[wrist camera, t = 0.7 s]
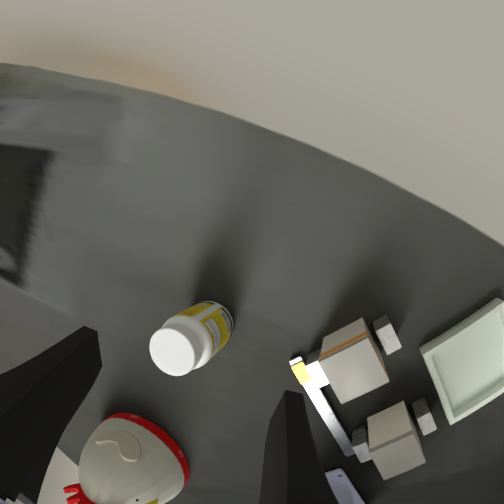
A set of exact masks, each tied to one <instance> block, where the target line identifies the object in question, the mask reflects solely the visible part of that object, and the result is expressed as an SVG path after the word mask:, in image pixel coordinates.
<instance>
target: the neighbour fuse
mask: <svg viewBox="0 0 504 504" xmlns="http://www.w3.org/2000/svg"><path fill="white" fill-rule="evenodd" d="M367 422H368V435H369V454H370V456H371V458H372V460H373V461H374V463H375V465H376V467H377V468H378V470H379V472H380V474H381V476H382V477H383V479H384V480H386V479H389V478H391V477H394V476H396V475H399V474H401V473H404V472H406V471H408V470H411V469H413V468H415V467H417V466H419V465H422V464H424V463H426V460H425V457H424V455H423V451H422V448H421V444H420V441H419V437H418V434H417V431H416V427H415V425H414V423H413V421H412V418H411V416H410V414H409V412H408V410H407V407H406V405H405V403H404V401H402V402H400V403H398V404H396V405H394V406H391V407H389V408H387V409H385V410H383V411H381V412H379V413H377V414H374V415H372V416H370V417H368V418H367Z"/></svg>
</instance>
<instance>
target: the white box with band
mask: <svg viewBox="0 0 504 504" xmlns="http://www.w3.org/2000/svg"><path fill="white" fill-rule="evenodd" d="M318 364H319V365H320V367H321V369H322V371H323V373H324V374H325V376H326V378H327V380H328V381H329V383H330V385H331V387H332V389H333V390H334V392H335V394H336V396H337V397H338V399H339V401H340V403H341V404H343V403H345V402H347V401H350V400H352V399H354V398H356V397H359V396H361V395H363V394H365V393H367V392H369V391H371V390H374V389H376V388H378V387H380V386H382V385H384V384H386V383H388V382H390V381H389V378H388V374H387V372H386V369H385V366H384V363H383V359H382V356H381V353H380V351H379V349H378V347H377V345H376V343H375V341H374V339H373V337H372V335H371V333H370V331H369V329H368V327H367V325H366V323H365V321H364V319H363V317H362V318H360V319H358V320H356V321H355V322H353V323H351V324H349V325H347V326H345V327H343V328H341V329H339V330H337V331H335V332H333V333H332V334H330V335H328V336H326V337H324V338H323V343H322V349H321V354H320V355H319V360H318Z"/></svg>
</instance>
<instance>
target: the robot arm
mask: <svg viewBox="0 0 504 504" xmlns="http://www.w3.org/2000/svg"><path fill="white" fill-rule="evenodd" d="M101 367H102V361H101V355H100V348H99V341H98V334H97V331H95V330H93V329H90V328H88V327H86V326H83V327H82V328H80V329H78V330H77V331H75V332H74V333H72V334H71V335H69V336H67V337H66V338H64V339H63V340H61V341H60V342H58V343H57V344H55V345H54V346H52V347H50V348H49V349H47V350H45V351H44V352H42V353H41V354H39V355H37V356H36V357H34V358H32V359H30V360H28V361H27V362H25V363H23V364H21V365H19V366H17V367H15V368H13V369H11V370H9V371H7V372H5V373H3V374H0V504H7V503H6V502H5V500H6V499H7V498H9V499H10V500H12V501H13V502H15V500H16V499H18V500H19V501H21V502H22V503H24V504H37V500H38V497H39V493H40V489H41V486H42V483H43V480H44V477H45V474H46V471H47V468H48V465H49V463H50V460H51V458H52V455H53V453H54V451H55V448H56V446H57V444H58V442H59V440H60V438H61V435H62V433H63V432H64V430H65V428H66V426H67V425H68V423H69V422H70V420H71V419H72V417H73V415H74V414H75V412H76V411H77V409H78V408H79V406H80V405H81V403H82V402H83V400H84V399H85V397H86V395H87V394H88V392H89V391H90V389H91V388H92V386H93V384H94V382H95V380H96V378H97V376H98V374H99V372H100V370H101ZM340 474H341V475H340ZM259 504H365V503H364V502H363V500H362V498H361V497H360V495H359V494H358V492H357V491H356V489H355V488H354V486H353V485H352V483H351V482H350V480H349V478H348V477H347V475H346V474H345V472H344V471H343V469H341V468H338V469H335V470H332V471H329V472H324V469H323V467H322V464H321V461H320V459H319V456H318V453H317V449H316V446H315V443H314V440H313V436H312V433H311V429H310V425H309V421H308V417H307V412H306V407H305V402H304V396H303V394H302V393H297V392H292V391H288V390H285V392H284V394H283V396H282V398H281V400H280V402H279V404H278V406H277V408H276V410H275V412H274V414H273V416H272V417H271V419H270V424H269V429H268V433H267V438H266V443H265V453H264V463H263V473H262V483H261V493H260V500H259Z"/></svg>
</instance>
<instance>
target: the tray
mask: <svg viewBox="0 0 504 504" xmlns="http://www.w3.org/2000/svg"><path fill="white" fill-rule="evenodd" d="M419 350H420V353H421V355H422V357H423V360H424V362H425V364H426V367H427V369H428V371H429V374H430V376H431V379H432V381H433V384H434V386H435V389H436V391H437V394H438V396H439V399H440V401H441V404H442V407H443V409H444V412H445V415H446V417H447V419H448V421H449V424H450V425H452V424H454V423H455V422H457V421H459V420H461V419H462V418H464V417H466V416H467V415H469V414H471V413H472V412H474V411H476V410H477V409H479V408H480V407H482V406H484V405H485V404H487V403H488V402H490V401H491V400H493V399H494V398H496V397H497V396H499V395H500V394H502V393H503V392H504V301H503V300H501V299H499V298H495V299H493V300H492V301H491V302H489V303H488V304H486V305H485V306H484V307H482V308H481V309H479V310H478V311H476V312H475V313H473V314H472V315H471V316H469V317H468V318H466V319H465V320H463V321H461V322H460V323H458V324H457V325H455V326H454V327H452V328H451V329H449V330H447V331H446V332H444V333H443V334H441V335H439V336H438V337H436V338H434V339H433V340H431V341H429V342H428V343H426V344H424V345H422V346H421V347H419Z"/></svg>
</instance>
